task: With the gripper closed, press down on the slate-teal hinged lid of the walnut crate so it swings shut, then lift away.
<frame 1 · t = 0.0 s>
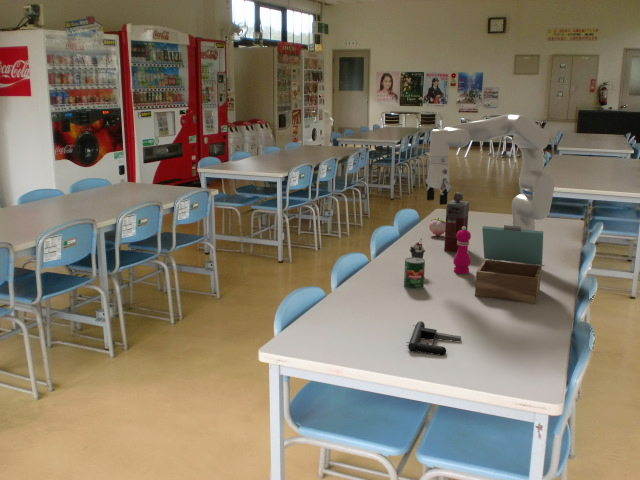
hand: (436, 202, 262), 31 cm above the table, tool pointing down, fingers open, 9 cm apart
canned tomato: (413, 287, 255), on the table
decorative fruit: (437, 236, 337), on the table
lid: (512, 244, 247), point 18 cm above the table, hinge at 55.0°
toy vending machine: (454, 250, 309), on the table
pepper mill: (461, 272, 275), on the table
crate: (507, 292, 248), on the table
sundae: (416, 273, 272), on the table
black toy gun: (433, 344, 201), on the table
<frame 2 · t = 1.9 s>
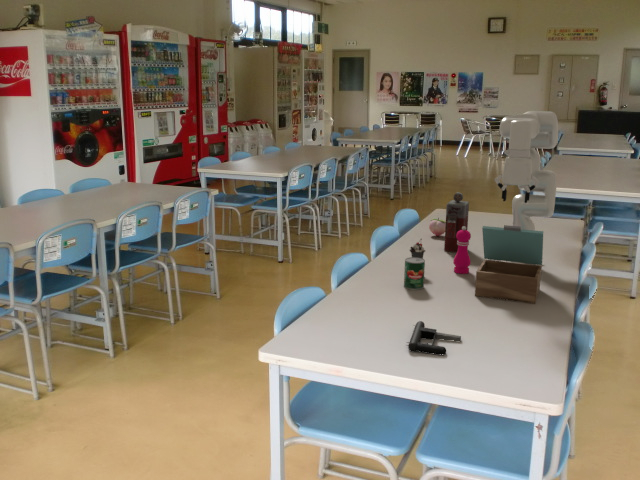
hand: (515, 201, 240), 36 cm above the table, tool pointing down, fingers open, 7 cm apart
nothing on the table moved.
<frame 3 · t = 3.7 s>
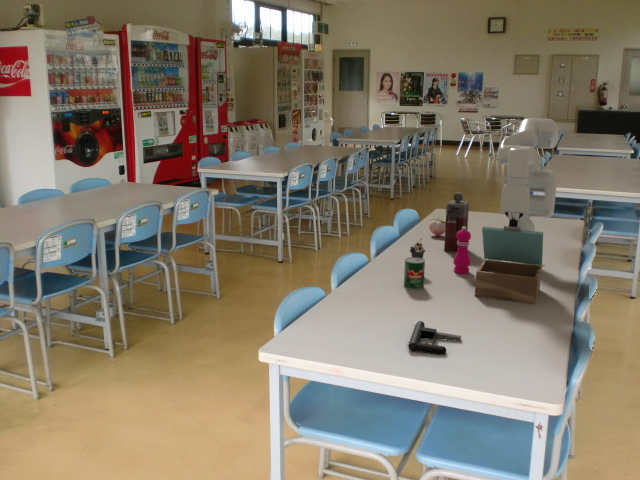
hand: (512, 229, 242), 25 cm above the table, tool pointing down, fingers closed
lid: (512, 245, 246), point 18 cm above the table, hinge at 53.8°, touching gripper
everything else where it was.
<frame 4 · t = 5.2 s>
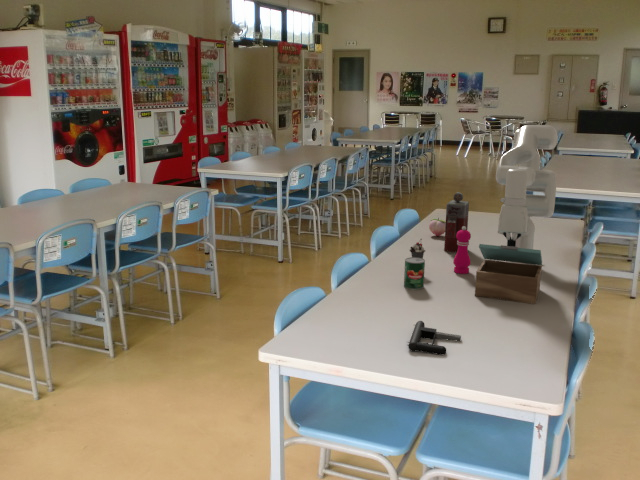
hand: (510, 249, 243), 17 cm above the table, tool pointing down, fingers closed
lid: (511, 254, 245), point 15 cm above the table, hinge at 29.2°, touching gripper
everything else where it was.
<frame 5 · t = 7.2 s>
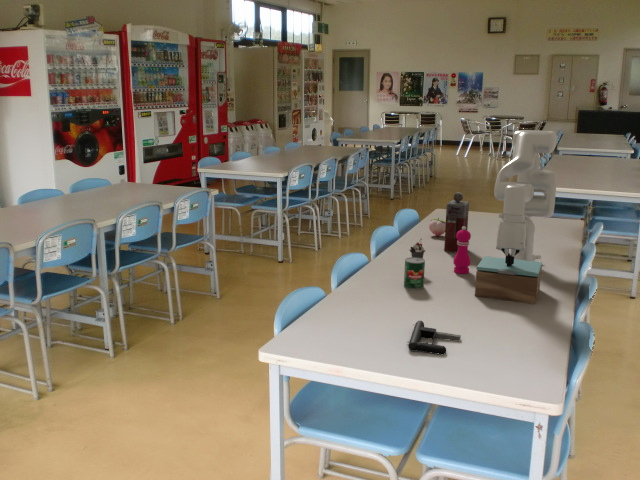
hand: (509, 265, 243), 12 cm above the table, tool pointing down, fingers closed
lid: (509, 266, 245), point 11 cm above the table, hinge at 1.5°, touching gripper
everything else where it was.
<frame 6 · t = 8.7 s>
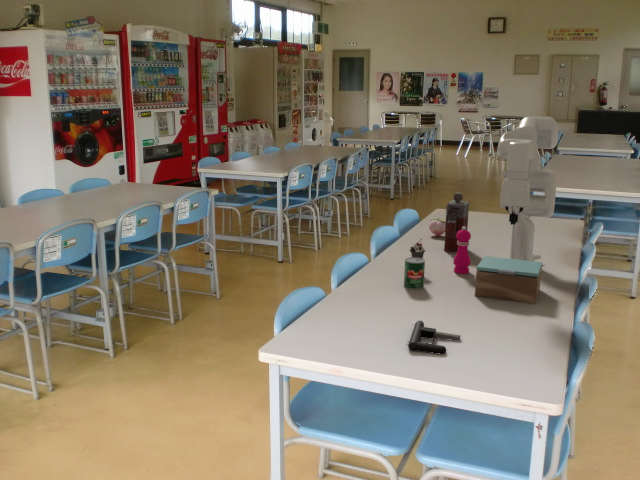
hand: (513, 223, 241), 27 cm above the table, tool pointing down, fingers closed
lid: (509, 266, 245), point 11 cm above the table, hinge at 1.3°
everything else where it was.
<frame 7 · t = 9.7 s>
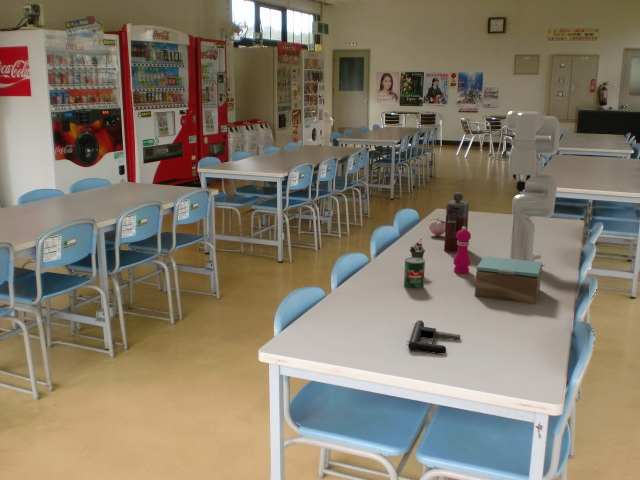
hand: (520, 191, 254), 37 cm above the table, tool pointing down, fingers closed
nothing on the table moved.
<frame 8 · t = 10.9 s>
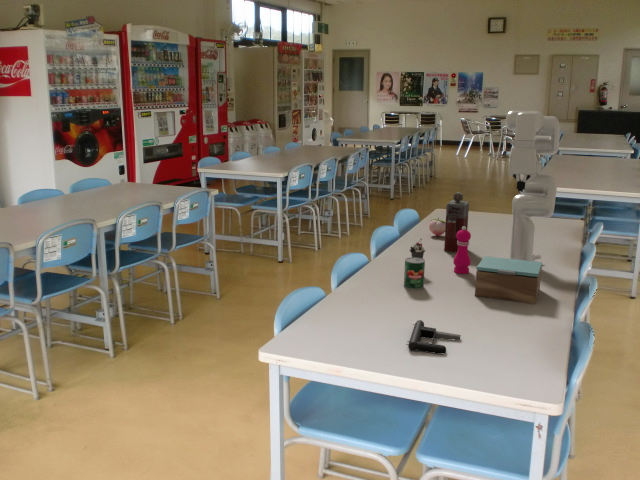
hand: (520, 191, 254), 37 cm above the table, tool pointing down, fingers closed
nothing on the table moved.
at the end: lid at +1° (first picture: +55°) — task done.
